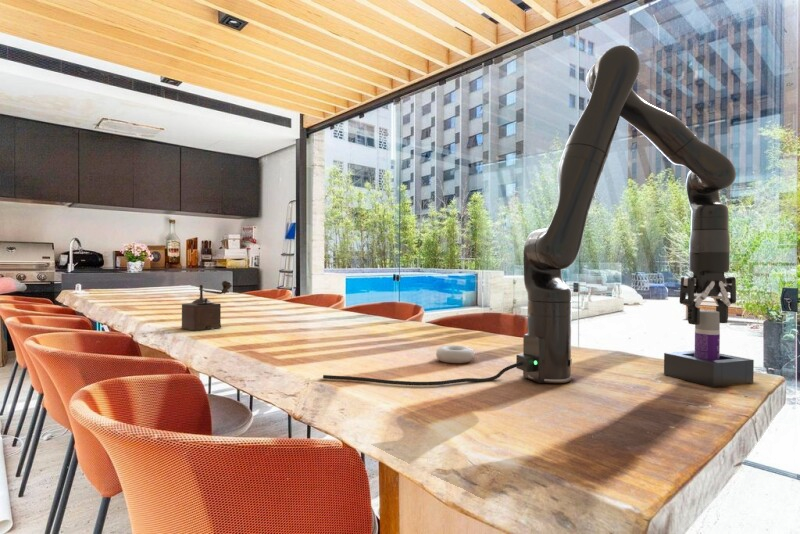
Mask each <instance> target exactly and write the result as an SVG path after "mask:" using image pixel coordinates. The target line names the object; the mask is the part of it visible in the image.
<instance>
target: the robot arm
mask: <svg viewBox="0 0 800 534" xmlns="http://www.w3.org/2000/svg"><path fill="white" fill-rule="evenodd" d="M640 69H641V61H640V58H639V55H638V53H637V52H636V51H635V49H634V48H632V46H631V47H630V46H629V45H625V44H619V45H616V46H613V47H611V48H609V49H607V50H606V51H605V52H603V54H601V55H600V56H599V58H598V59H597V60H596V61H595V63H594V64H593V65H592V66H591V68H590V69H589V70H588V72H587V74H586V76H585V86H586V88H587V91H588V92H589V94H590V96H589V97H590V98H589V100H588V102H587V105H586V107H585V108H584V110H583V111H582V113H581V115H580V117H579V119H578V120H577V122H576V124H575V126H574V127H573V130H572V131H571V134H570V135H569V137H568V140H567V141H566V144H565V145H564V149H563V152H562V154H561V157H560V161H559V164H558V169H557V187H558V200H557V205H556V208H555V210H554V214H553V216H552V218H551V221H550V223H549V225H548V227H545V228H539V229H536V230H533V231H532V232H530V234H529V235H527V238H526V239H525V241H524V244H523V253H522V256H523V257H522V258H523V281H524V282H523V283H524V287H525V291H526V293H527V294H526V295H527V323H526V324H527V327H526V328H527V332H526V333H524V334H523V339H522V340H523V342H522V343H523V347H522V353H520V354H516V357H515V358H516V359H515V360H516V363H513V364H510V365H508V366H505V367H504V368H502V369H500V371H498V373H496V374H495V375H493V376H490V377H481V378H479V377H477V378H475V377H462V378H453V379H446V380H438V381H437V380H435V381H408V380H407V381H406V380H391V379H381V378H373V377H372V378H371V377H362V376H350V375H349V376H348V375H331V374H330V375H329V374H323V375H322V379H325V380H339V381H340V380H342V381H355V382H356V381H357V382H367V383H374V384H375V383H377V384H384V385H386V384H387V385H397V386H398V385H399V386H416V387H417V386H418V387H420V386H422V387H423V386H424V387H426V386H443V385H451V384H459V383H482V382H483V383H484V382H492V381H495V380H497V379H499V378H500V377H501V376H502V375H503V374H504V373H505V372H507V371H510V370H512V369H515V368H516V369H518V370H520V371H522V377H523V378H525V379H528V380H530V381H533V382H536V383H538V384H565V383H569V382H571V381H572V374H571V373H572V365H573V358H572V289H571V288H570V287H569V286H568V285H567V284H566V283H565V281H564V279H563V275H562V274H563V273H562V271H563V270H565V269H568V268H570V267H572V265H573V264H574V263H575V262H576V260H577V258H578V256H579V253H580V250H581V246H582V243H583V238H584V233H585V229H586V224H587V219H588V216H589V212H590V209H591V206H592V203H593V200H594V197H595V195H596V191H597V189H598V185H599V182H600V180H601V177H602V174H603V172H604V169H605V166H606V163H607V161H608V157H609V154H610V150H611V147H612V144H613V141H614V138H615V134H616V131H617V128H618V124H619V121H620V118H621V119H622V120H624V121H626V122H627V123H628V124H630V125H631V126H632V127H633V128H635V129H636V130H637V131H638V132H639V133H641V134H642V135H643V136H644V137H645V138H647V140H649V142H650V143H652V145H653V146H654V147H655V148H656V149H657V150H658V151H659V152H661V154H662V155H663V156H664V157H665V158H666V159H667V160H668V161H669V162H670V163H672V164H673V165H675V166H683V167H685V168H687V170H689V171H688V173H687V176H686V180H685V182H686V183H685V190H686V196H687V200H688V205H689V208H690V211H691V215H690V219H691V220H690V236H689V248H688V250H689V253H688V260H689V261H688V270H689V272H691V273H692V276H681V279H680V286H679V287H680V288H679V304H681V305H685V306H686V307H687V322H688V324H689V325H694V326H695V325H699V323H700V310H701V308H700V306H701V304H702V302H703V301H704V300H706V299H707V297H710V298H711V299H713V300H714V302H715V304H716V306H715V311H718V312H719V319H720V324H727V323H728V322H729V321H728V320H729V307H730V306H731V305H732V304H736V303H737V279H736V277H735V276H726V275H725V273H728V272H729V271H730V254H731V253H730V249H731V248H730V247H731V245H730V244H731V243H730V241H731V240H730V234H729V223H730V219H729V217H730V216H729V215H730V213H729V207H728V206H727V204H726V203H725V204H724V203H722V202H721V198H720V191H722V190H725V189H727V188H729V187H731V186H732V185H733V184H734V183H735V181H736V177H737V172H736V168H735V166H734V164H733V162H732V161H731V160H730V159H729V158H728V157H727V156H726V155H725V154H723V153H722V152H720V151H719V150H717V149H716V148H714V147H712V146H711V145H709V144H708V143H706V142H704V141H702V140H701V139H700V138H699V137H698V136H697V135H696V134H695V133H694V132H693V131H692V130H691V128H689V127H688V126H687V125H686V124H685V123H684V122H683V121H682V120H681V119H680V118H678V117H677V116H675V115H674V114H672V113H671V112H668V111H666V110H663V109H662V108H659V107H657V106H655V105H653V104H651V103H649V102H648V101H646V100H644V99H643V98H642V97H640V96H639V95H638V94H637V92H635V91H634V89H633V87H634V86H635V83H636V81H637V79H638V77H639V74H640ZM729 295H730V297H729Z"/></svg>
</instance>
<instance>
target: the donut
mask: <svg viewBox="0 0 800 534" xmlns="http://www.w3.org/2000/svg"><path fill="white" fill-rule="evenodd" d="M435 351H436V352H435V356H436V358H437V360H438V361H440V362H442V363H446V364H467V363H470V362H471V361H473V360H474V359H475V352H474V349H472V348H470V347H469V346H464V345H443V346H440V347H438V348H437V349H436V350H435Z"/></svg>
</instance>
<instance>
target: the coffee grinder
mask: <svg viewBox="0 0 800 534" xmlns="http://www.w3.org/2000/svg"><path fill="white" fill-rule="evenodd" d="M221 286H222V288H221V289H222V290H221V291H216V290H208V289H205V288H204V285H203V284H199V288H198V290H199V298H196V299H195V300H193V301H192V302H189V303H187V302H186V303H181V329H182V328H183V330H186V331H188V330H189V331H193V332H198V331H199V332H200V331H206V330H208V331H209V330H214V329H220V328H222V326H221V322H222V321H221V314H222V313H221V310H222V309H221V307H222V306H221V305H222V304H221V303H220V302H219V303H217V302H212V301H211V300H209V299H208V298H204V296H203V295H204V293H210V294H215V295H216V294H217V295H222V294H223V295H225V294H229V293H230V289H231V288H232V287H233V283H232V281H231V280H226V279H225V280H222V282H221Z"/></svg>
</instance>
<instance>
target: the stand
mask: <svg viewBox="0 0 800 534" xmlns="http://www.w3.org/2000/svg"><path fill="white" fill-rule="evenodd" d="M754 362H755V360H754V359H752V358H746V357H741V356H735V355H732V354H731V355H730V354H725V353H720V354H719V360H712V361H711V360H706V359H701V358H696V357H695V350H685V351H684V350H683V351H674V352H664V353H663V375H665V376H668V377H672V378H674V379H675V378H676V379H679V380H684V381H687V382H691V383H695V384H698V385H703V386H706V387H710V388H720V387H729V386H738V385H745V384H746V385H748V384H753V383H754V368H755V365H754V364H755V363H754Z"/></svg>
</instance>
